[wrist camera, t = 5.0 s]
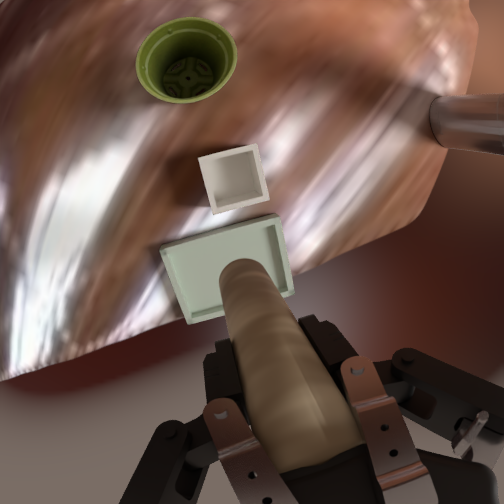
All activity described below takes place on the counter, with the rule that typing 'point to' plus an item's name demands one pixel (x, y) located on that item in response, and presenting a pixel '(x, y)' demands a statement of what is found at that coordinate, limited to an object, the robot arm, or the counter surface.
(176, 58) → the plant pot
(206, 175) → the white open box
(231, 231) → the tray
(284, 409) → the dowel
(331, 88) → the counter surface
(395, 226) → the counter surface
